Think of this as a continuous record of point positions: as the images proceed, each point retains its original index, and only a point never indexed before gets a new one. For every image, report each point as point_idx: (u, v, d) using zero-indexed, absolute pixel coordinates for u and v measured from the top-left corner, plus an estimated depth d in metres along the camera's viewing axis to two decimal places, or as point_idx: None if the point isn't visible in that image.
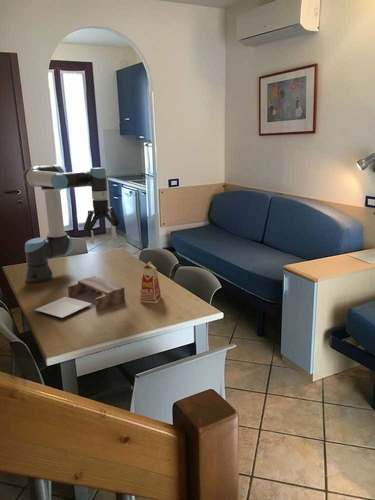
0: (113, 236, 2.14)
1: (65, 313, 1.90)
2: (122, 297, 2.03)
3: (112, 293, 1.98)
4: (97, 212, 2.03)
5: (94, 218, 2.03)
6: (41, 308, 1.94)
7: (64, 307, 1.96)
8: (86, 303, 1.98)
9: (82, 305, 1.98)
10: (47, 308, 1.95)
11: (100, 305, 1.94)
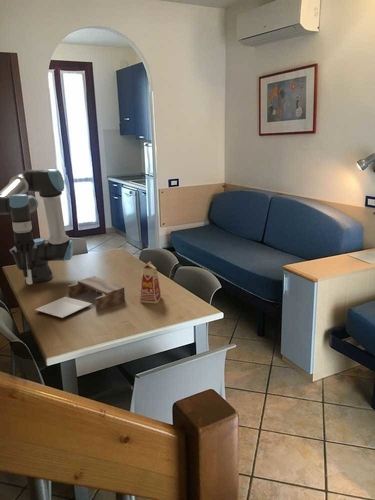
0: None
1: (65, 313, 1.90)
2: (122, 297, 2.03)
3: (112, 293, 1.98)
4: (19, 246, 1.73)
5: (21, 255, 1.76)
6: (41, 308, 1.94)
7: (64, 307, 1.96)
8: (86, 303, 1.98)
9: (82, 305, 1.98)
10: (47, 308, 1.95)
11: (100, 305, 1.94)
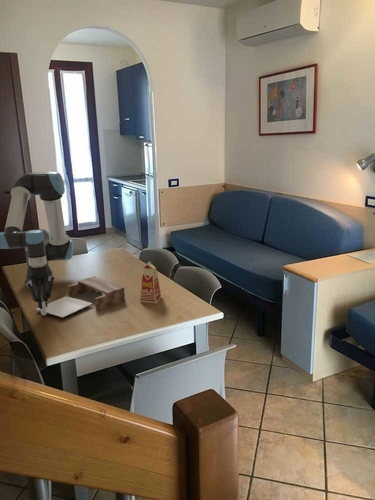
0: None
1: (65, 312, 1.90)
2: (122, 297, 2.03)
3: (112, 293, 1.98)
4: (34, 279, 1.81)
5: (36, 288, 1.83)
6: None
7: (65, 307, 1.97)
8: (87, 303, 1.98)
9: (83, 305, 1.98)
10: (48, 307, 1.96)
11: (100, 305, 1.94)
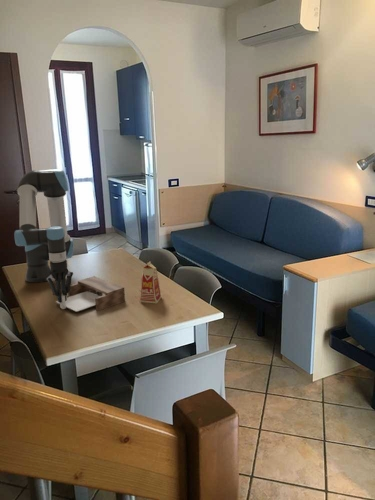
0: None
1: (81, 307, 1.96)
2: (122, 297, 2.03)
3: (112, 293, 1.98)
4: (55, 274, 1.88)
5: (56, 282, 1.90)
6: None
7: (83, 302, 2.03)
8: None
9: None
10: (67, 301, 2.03)
11: (100, 305, 1.94)
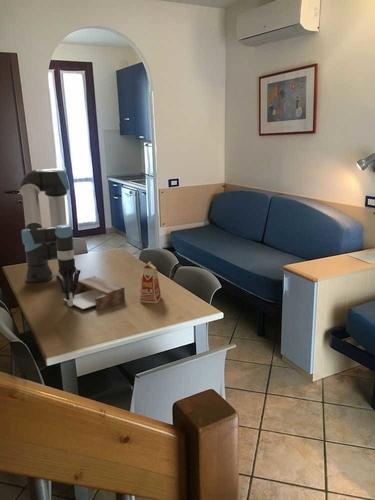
0: None
1: (88, 305, 1.99)
2: (122, 297, 2.03)
3: (112, 293, 1.98)
4: (63, 272, 1.90)
5: (64, 280, 1.93)
6: None
7: (90, 299, 2.05)
8: None
9: None
10: (74, 299, 2.06)
11: (100, 305, 1.94)
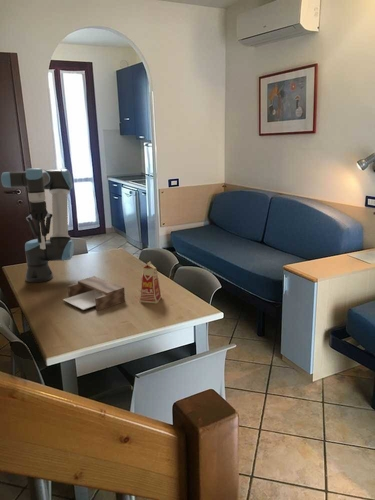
0: None
1: (88, 305, 1.99)
2: (122, 297, 2.03)
3: (112, 293, 1.98)
4: (34, 214, 1.95)
5: (36, 222, 1.98)
6: (69, 299, 2.05)
7: (90, 300, 2.05)
8: None
9: None
10: (74, 299, 2.06)
11: (100, 305, 1.94)
